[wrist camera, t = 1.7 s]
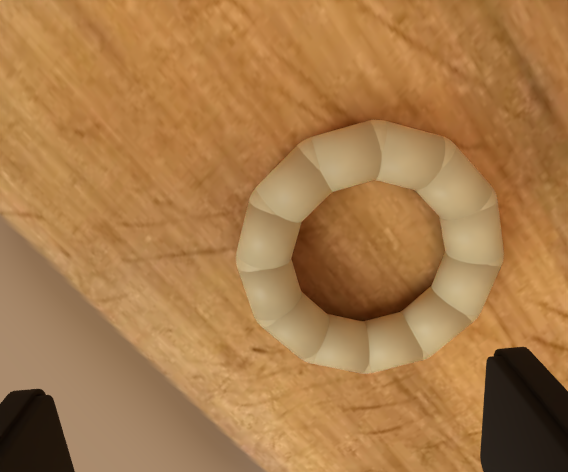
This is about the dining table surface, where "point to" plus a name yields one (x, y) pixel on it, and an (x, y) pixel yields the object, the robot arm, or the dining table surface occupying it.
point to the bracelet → (346, 173)
